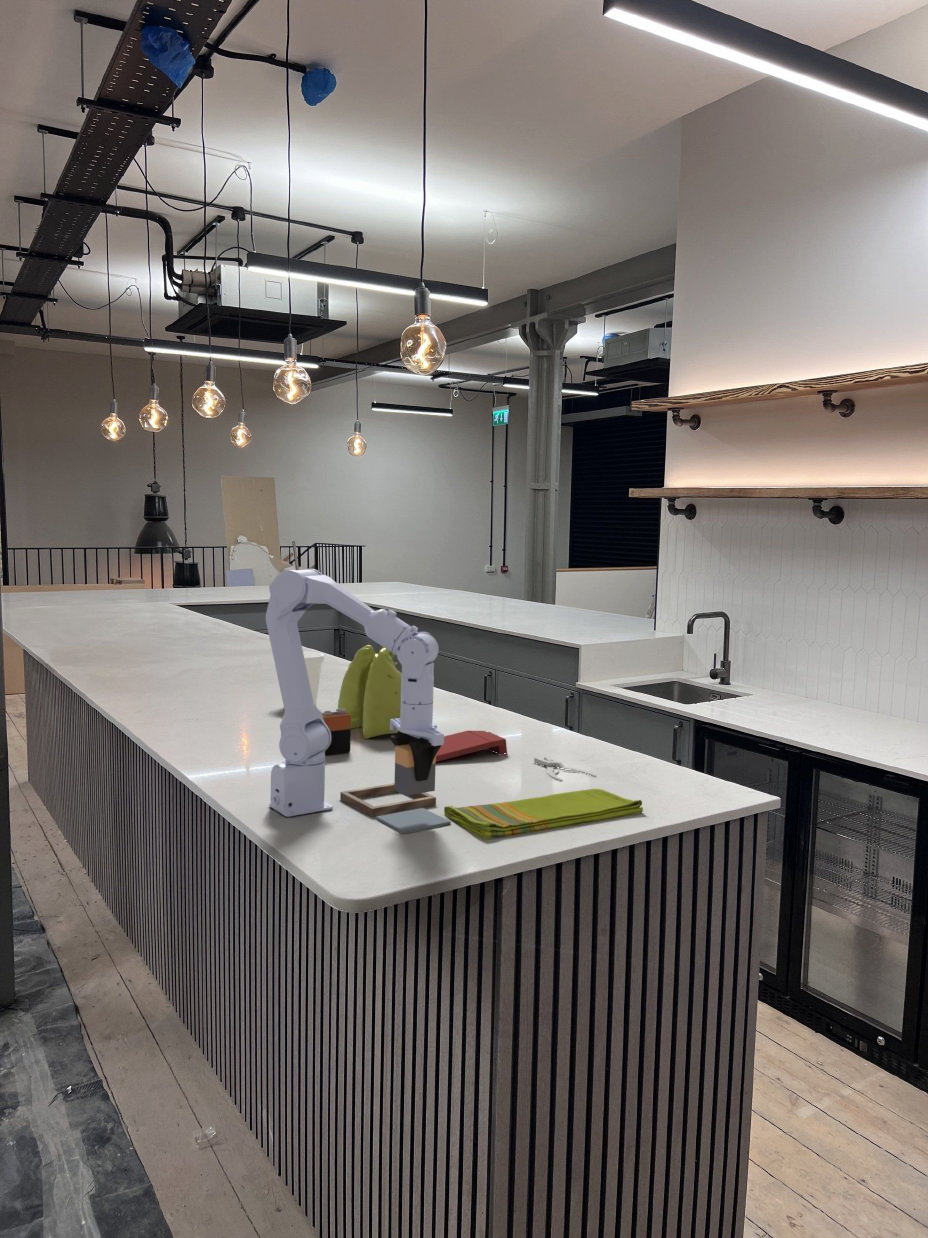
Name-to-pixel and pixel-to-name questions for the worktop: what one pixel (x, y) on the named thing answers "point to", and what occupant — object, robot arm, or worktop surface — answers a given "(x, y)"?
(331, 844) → the worktop surface
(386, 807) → the frame
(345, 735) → the battery
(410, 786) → the orange grey tall block
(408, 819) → the mat
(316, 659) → the cup
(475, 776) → the worktop surface
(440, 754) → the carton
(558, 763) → the pliers
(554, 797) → the dish towel
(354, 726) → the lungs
